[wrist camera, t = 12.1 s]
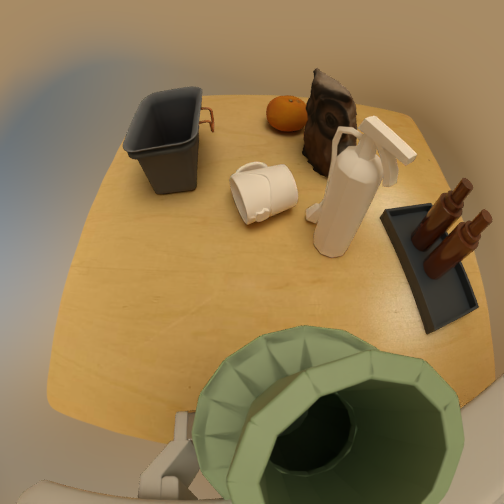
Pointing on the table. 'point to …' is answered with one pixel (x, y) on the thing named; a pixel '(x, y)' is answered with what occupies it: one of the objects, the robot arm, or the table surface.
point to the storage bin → (168, 138)
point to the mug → (263, 190)
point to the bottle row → (458, 240)
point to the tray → (423, 287)
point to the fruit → (287, 113)
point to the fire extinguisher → (355, 183)
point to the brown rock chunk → (327, 121)
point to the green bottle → (326, 423)
